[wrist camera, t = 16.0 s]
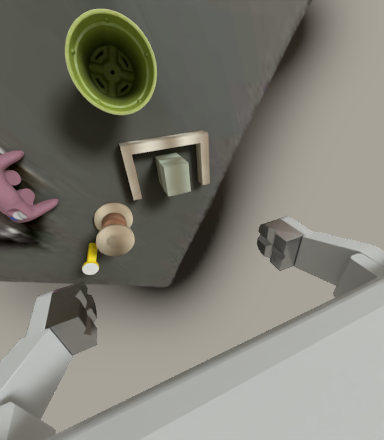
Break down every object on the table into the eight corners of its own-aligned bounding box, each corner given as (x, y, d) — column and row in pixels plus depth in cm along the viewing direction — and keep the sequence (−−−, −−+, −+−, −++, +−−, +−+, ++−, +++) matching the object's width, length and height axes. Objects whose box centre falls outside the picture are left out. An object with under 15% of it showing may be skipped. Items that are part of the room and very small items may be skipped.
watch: (97, 261, 45) (96, 282, 40) (82, 261, 43) (80, 282, 39) (101, 238, 42) (101, 257, 38) (86, 237, 41) (84, 256, 36)
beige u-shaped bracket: (132, 194, 40) (133, 200, 38) (119, 143, 35) (119, 146, 33) (204, 179, 44) (209, 183, 42) (202, 130, 38) (207, 132, 36)
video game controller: (-1, 152, 31) (-47, 172, 26) (23, 146, 30) (-20, 166, 25) (42, 206, 37) (12, 232, 32) (64, 202, 36) (36, 228, 31)
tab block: (159, 182, 41) (168, 196, 35) (154, 156, 38) (163, 167, 32) (178, 178, 42) (190, 191, 36) (176, 152, 39) (188, 162, 33)
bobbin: (100, 237, 42) (100, 263, 36) (88, 206, 38) (85, 230, 32) (135, 228, 44) (141, 251, 37) (127, 198, 40) (132, 218, 34)
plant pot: (113, 123, 33) (116, 132, 26) (58, 62, 28) (42, 52, 21) (157, 82, 32) (172, 79, 25) (109, 11, 27) (112, -18, 20)
